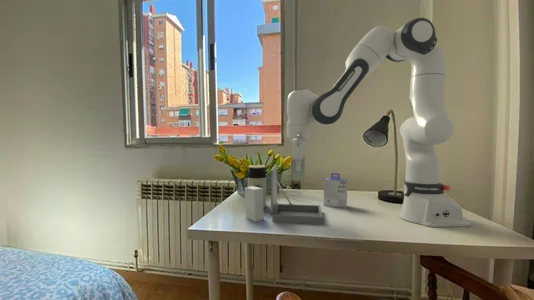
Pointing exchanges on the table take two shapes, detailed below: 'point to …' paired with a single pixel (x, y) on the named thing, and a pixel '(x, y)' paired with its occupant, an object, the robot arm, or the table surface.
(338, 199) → the ink cartridge box
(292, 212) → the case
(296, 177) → the block
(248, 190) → the skincare box
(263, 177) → the travel mug
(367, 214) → the table surface
